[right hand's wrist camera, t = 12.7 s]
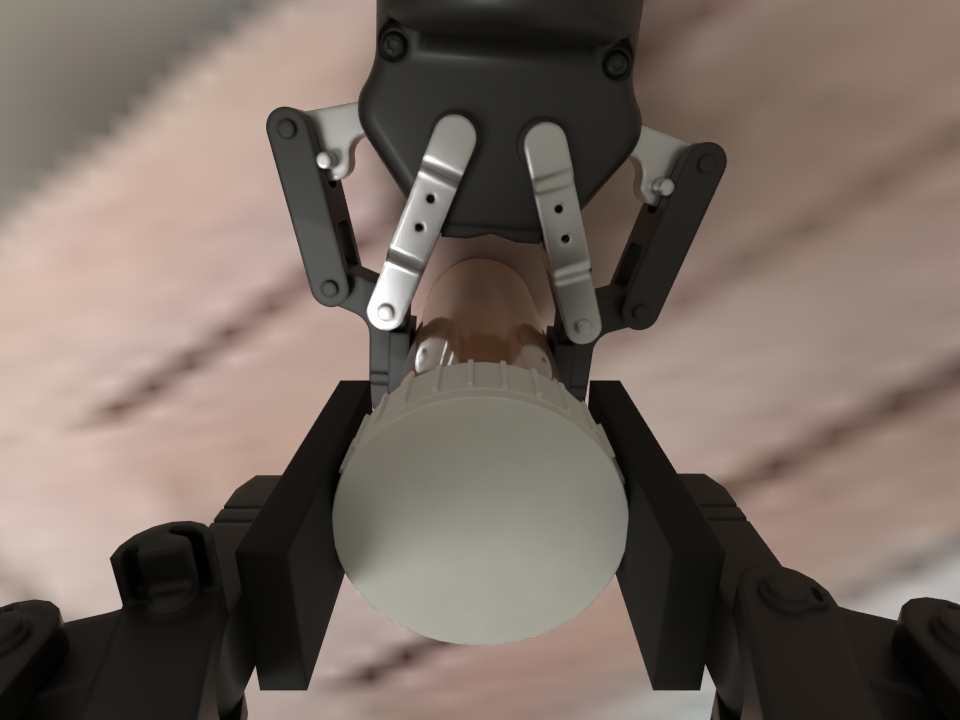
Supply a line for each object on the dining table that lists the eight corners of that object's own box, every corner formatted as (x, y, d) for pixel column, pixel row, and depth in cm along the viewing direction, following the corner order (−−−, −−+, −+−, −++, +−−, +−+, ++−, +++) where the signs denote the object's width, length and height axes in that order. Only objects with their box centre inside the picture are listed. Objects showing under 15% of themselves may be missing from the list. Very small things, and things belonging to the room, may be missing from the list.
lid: (454, 623, 14) (450, 689, 12) (292, 455, 12) (262, 504, 10) (660, 506, 12) (689, 560, 11) (513, 302, 11) (519, 328, 9)
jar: (468, 379, 27) (455, 649, 12) (405, 299, 25) (305, 495, 11) (553, 322, 26) (649, 541, 11) (492, 236, 24) (511, 356, 10)
